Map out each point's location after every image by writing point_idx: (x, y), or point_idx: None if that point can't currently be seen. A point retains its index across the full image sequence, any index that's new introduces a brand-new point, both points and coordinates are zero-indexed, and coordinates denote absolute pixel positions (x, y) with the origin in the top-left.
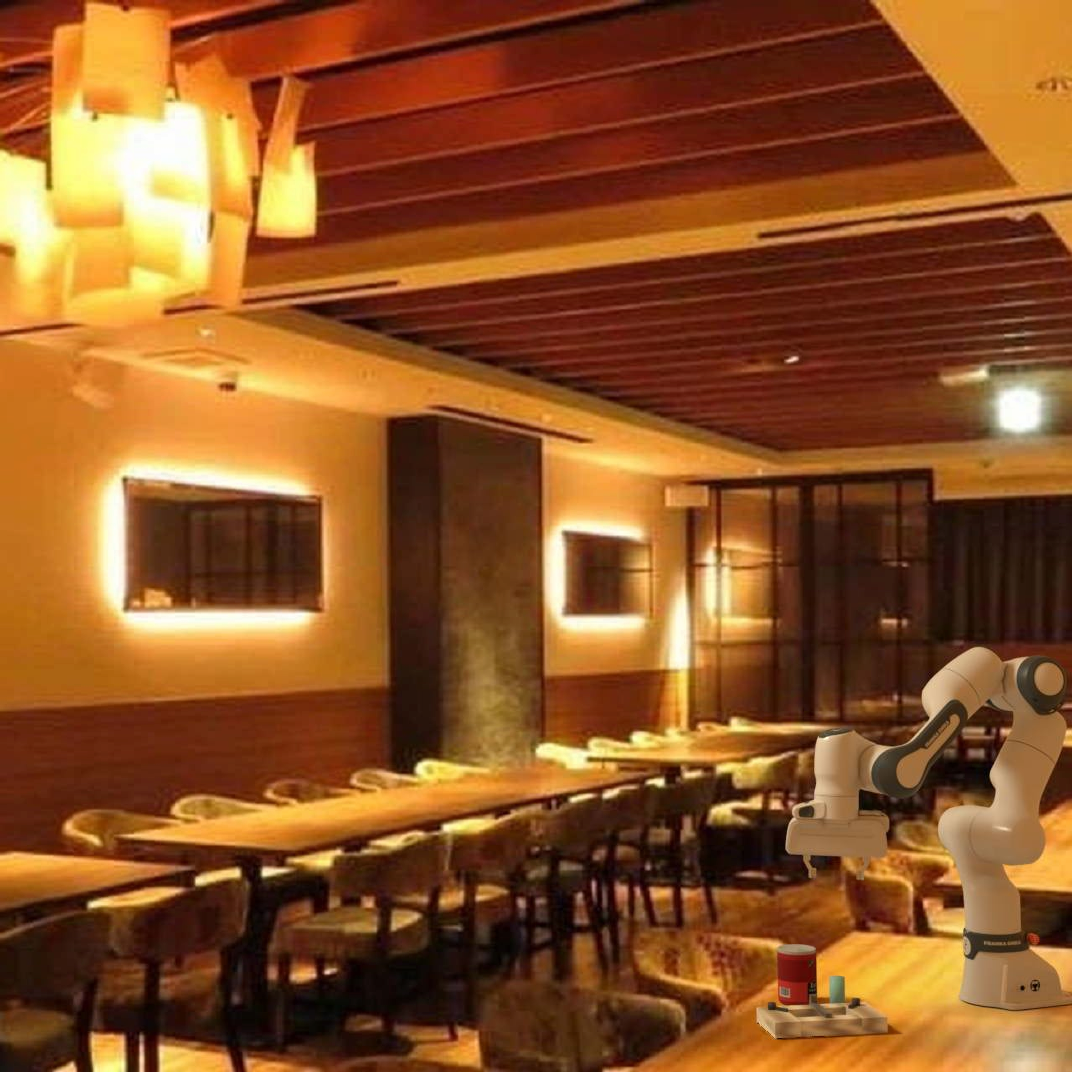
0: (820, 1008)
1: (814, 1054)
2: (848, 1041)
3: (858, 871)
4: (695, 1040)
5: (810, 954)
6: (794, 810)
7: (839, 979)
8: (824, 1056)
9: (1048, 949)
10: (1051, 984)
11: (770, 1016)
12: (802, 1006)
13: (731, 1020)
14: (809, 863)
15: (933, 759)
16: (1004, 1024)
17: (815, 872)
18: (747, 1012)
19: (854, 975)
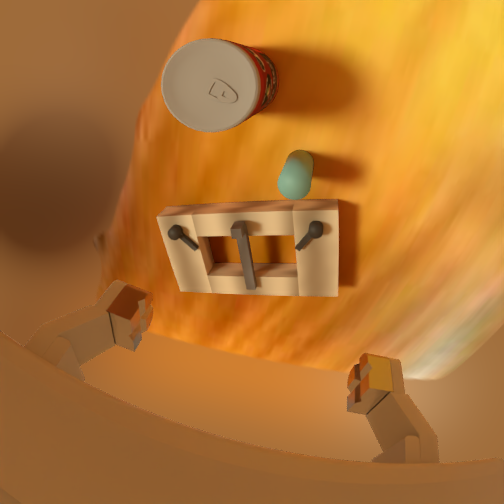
0: (244, 263)
1: (226, 331)
2: (274, 302)
3: (355, 412)
4: (110, 265)
5: (239, 123)
6: None
7: (295, 199)
8: (235, 338)
9: None
10: None
11: (175, 265)
12: (223, 222)
13: (135, 189)
14: (85, 339)
15: None
16: (497, 268)
17: (138, 338)
18: (155, 146)
19: None
